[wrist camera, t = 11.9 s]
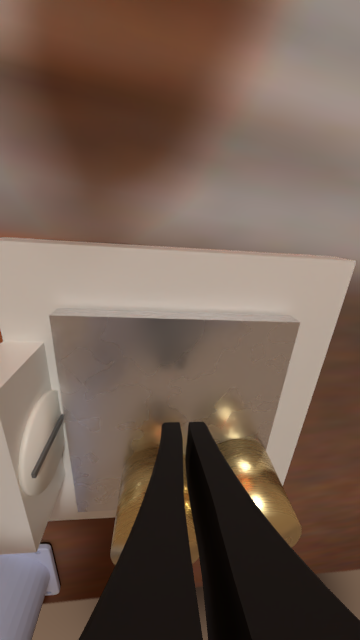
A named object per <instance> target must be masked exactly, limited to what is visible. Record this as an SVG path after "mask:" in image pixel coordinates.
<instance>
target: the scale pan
mask: <svg viewBox="0 0 360 640" xmlns="http://www.w3.org/2000/svg"><path fill="white" fill-rule="evenodd" d="M49 319H50V326H51V333H52V339H53V346H54V353H55V360H56V367H57V373H58V380H59V387H60V394H61V401H62V407H63V414H64V421H65V428H66V435H67V441H68V448H69V455H70V462H71V469H72V476H73V482H74V489H75V496H76V503H77V510H78V512H90V511H109V510H117V504H118V497H119V490H120V483H121V476H122V470H123V466H124V464H125V463H126V461H127V460H128V459H129V458H130V457H131V456H132V455H134V454H135V453H137V452H139V451H141V450H144V449H147V448H152V447H159V445H160V439H161V427H162V424H163V423H164V422H180V426H181V432H182V438H183V454H184V455H186V445H187V435H188V425H189V422H204V423H205V424H206V425H207V427H208V429H209V431H210V433H211V435H212V437H213V439H214V441H215V442H216V444H217V445H218V444H220V443H222V442H224V441H228V440H232V439H249V440H253V441H256V442H258V443H259V444H261V445H262V446H263V447H264V448H265V450H266V449H267V445H268V441H269V437H270V434H271V430H272V426H273V422H274V419H275V415H276V411H277V408H278V404H279V400H280V396H281V393H282V389H283V385H284V381H285V378H286V374H287V370H288V367H289V363H290V359H291V355H292V352H293V348H294V344H295V340H296V337H297V333H298V329H299V326H300V322H299V321H298V320H296V319H295V318H293V317H292V316H290V315H264V314H231V313H199V312H167V311H135V310H102V309H70V308H57V309H56V310H55V311H54V312H52V313H51V314H50V315H49Z"/></svg>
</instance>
